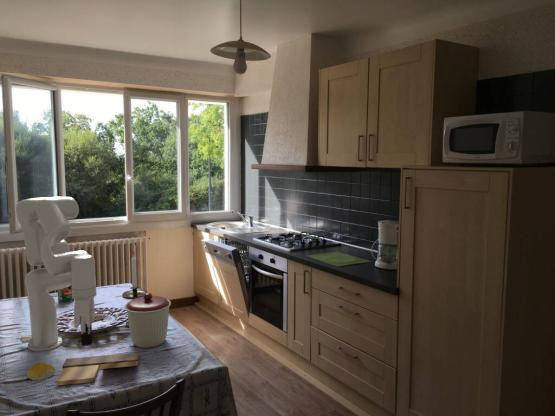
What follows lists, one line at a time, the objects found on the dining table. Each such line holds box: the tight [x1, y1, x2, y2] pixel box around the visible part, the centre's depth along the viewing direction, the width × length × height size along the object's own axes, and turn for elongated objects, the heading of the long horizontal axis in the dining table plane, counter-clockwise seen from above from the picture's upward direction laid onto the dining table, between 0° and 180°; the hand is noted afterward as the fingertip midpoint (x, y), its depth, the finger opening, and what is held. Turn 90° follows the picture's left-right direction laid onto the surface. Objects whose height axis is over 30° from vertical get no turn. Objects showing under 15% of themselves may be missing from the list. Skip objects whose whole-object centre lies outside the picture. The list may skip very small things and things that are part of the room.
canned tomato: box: [56, 285, 75, 304], centre depth 242 cm, size 8×8×11 cm
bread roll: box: [26, 362, 56, 381], centre depth 164 cm, size 8×9×4 cm
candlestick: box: [121, 248, 148, 328], centre depth 209 cm, size 11×11×35 cm
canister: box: [124, 292, 172, 349], centre depth 190 cm, size 18×18×21 cm
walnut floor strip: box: [62, 352, 140, 369], centre depth 173 cm, size 26×6×2 cm, turn 102°
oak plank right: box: [99, 361, 139, 370], centre depth 166 cm, size 12×10×2 cm
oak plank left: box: [55, 365, 100, 387], centre depth 163 cm, size 12×10×2 cm
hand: (87, 343), depth 159 cm, fingers closed
